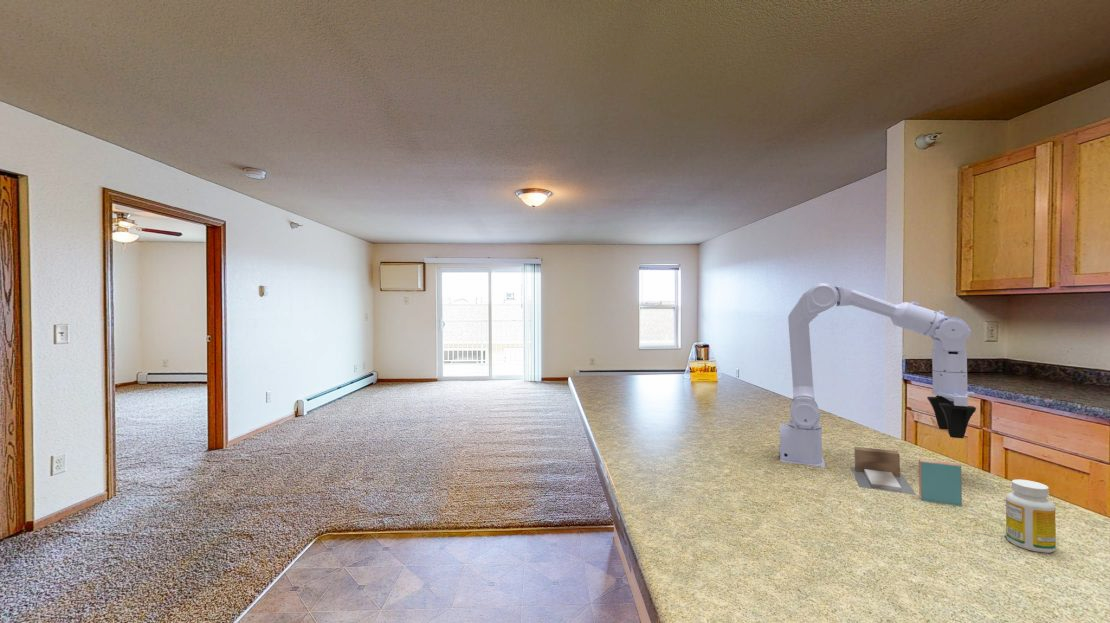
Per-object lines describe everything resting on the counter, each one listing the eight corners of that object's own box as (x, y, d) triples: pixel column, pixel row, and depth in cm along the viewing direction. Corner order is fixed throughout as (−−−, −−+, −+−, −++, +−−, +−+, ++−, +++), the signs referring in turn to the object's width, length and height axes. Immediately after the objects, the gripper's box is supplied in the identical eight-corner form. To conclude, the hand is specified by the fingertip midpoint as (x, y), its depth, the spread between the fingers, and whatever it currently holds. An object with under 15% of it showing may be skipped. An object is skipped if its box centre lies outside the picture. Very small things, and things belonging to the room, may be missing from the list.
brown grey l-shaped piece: (862, 486, 93) (862, 462, 93) (854, 468, 104) (854, 446, 104) (910, 492, 90) (910, 467, 90) (897, 473, 100) (897, 451, 100)
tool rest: (858, 489, 93) (858, 486, 93) (850, 469, 105) (850, 466, 105) (916, 497, 89) (916, 494, 89) (901, 475, 101) (901, 473, 101)
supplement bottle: (1004, 544, 71) (1002, 483, 71) (1008, 533, 74) (1007, 475, 74) (1055, 558, 67) (1053, 493, 67) (1057, 545, 70) (1056, 484, 70)
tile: (921, 503, 86) (920, 461, 86) (919, 500, 88) (918, 459, 88) (962, 509, 83) (961, 466, 83) (959, 505, 85) (958, 463, 85)
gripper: (986, 376, 90) (988, 444, 90) (961, 368, 103) (963, 427, 103) (941, 374, 93) (943, 440, 93) (922, 367, 106) (924, 424, 106)
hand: (950, 433), depth 98 cm, fingers open, 7 cm apart
